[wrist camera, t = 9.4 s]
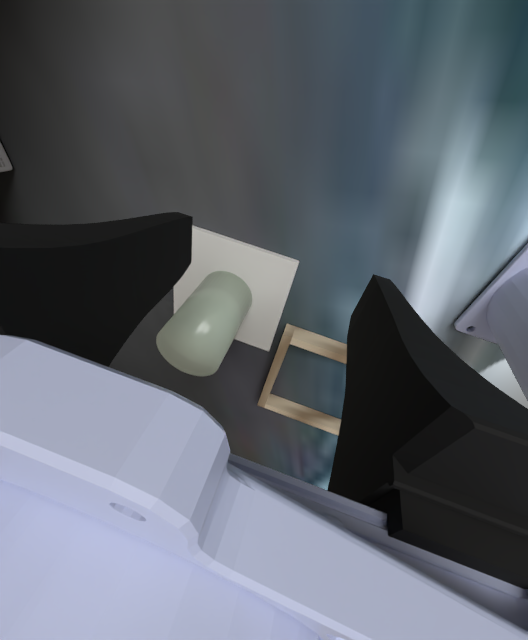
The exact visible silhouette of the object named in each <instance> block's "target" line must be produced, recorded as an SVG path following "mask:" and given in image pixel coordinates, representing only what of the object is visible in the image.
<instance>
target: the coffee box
mask: <svg viewBox="0 0 528 640" xmlns="http://www.w3.org/2000/svg"><path fill="white" fill-rule="evenodd" d="M10 170H12V165H11V163H10V161H9V159H8V157H7V154H6V152H5V150H4V148H3V146H2V144H1V142H0V172H5V171H10Z"/></svg>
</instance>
